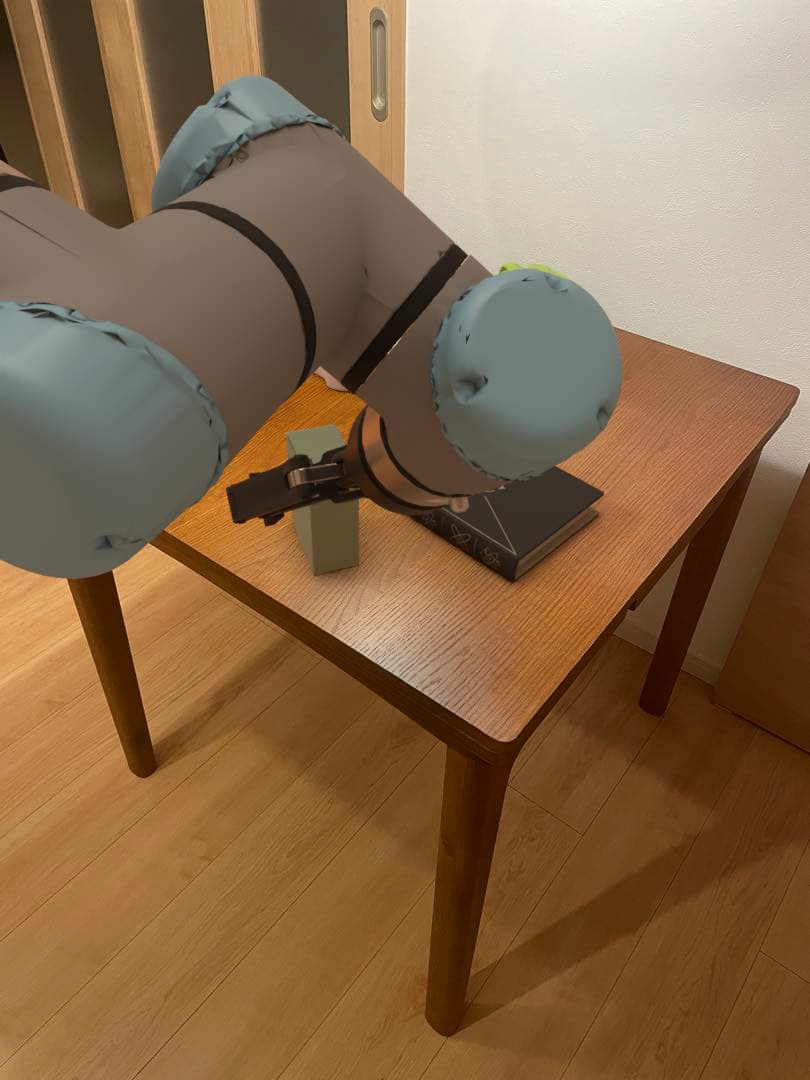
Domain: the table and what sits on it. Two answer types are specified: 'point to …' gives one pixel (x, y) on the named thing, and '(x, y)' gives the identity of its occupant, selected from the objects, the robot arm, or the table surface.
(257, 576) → the table surface
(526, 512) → the book
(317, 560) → the grey-green lidded box
